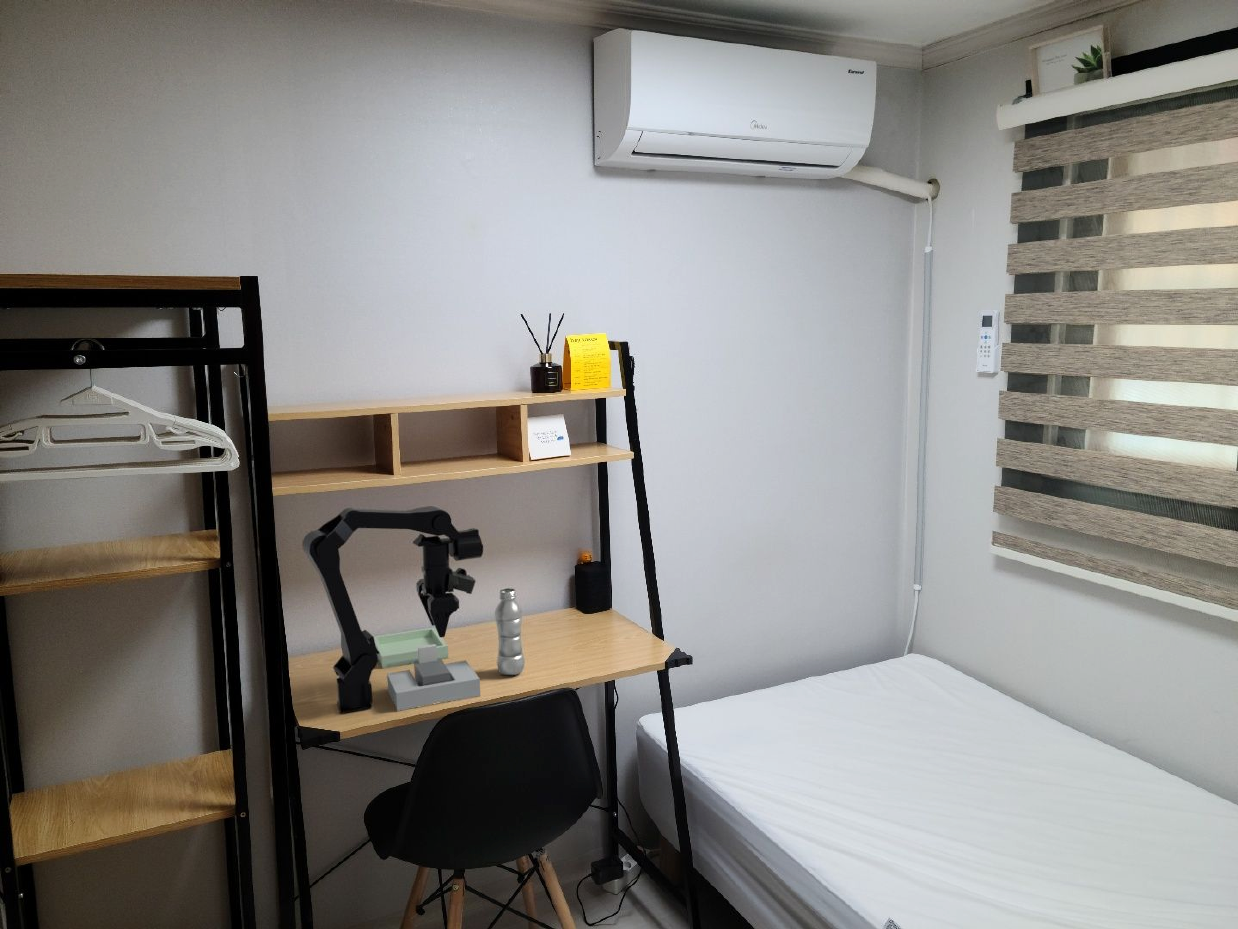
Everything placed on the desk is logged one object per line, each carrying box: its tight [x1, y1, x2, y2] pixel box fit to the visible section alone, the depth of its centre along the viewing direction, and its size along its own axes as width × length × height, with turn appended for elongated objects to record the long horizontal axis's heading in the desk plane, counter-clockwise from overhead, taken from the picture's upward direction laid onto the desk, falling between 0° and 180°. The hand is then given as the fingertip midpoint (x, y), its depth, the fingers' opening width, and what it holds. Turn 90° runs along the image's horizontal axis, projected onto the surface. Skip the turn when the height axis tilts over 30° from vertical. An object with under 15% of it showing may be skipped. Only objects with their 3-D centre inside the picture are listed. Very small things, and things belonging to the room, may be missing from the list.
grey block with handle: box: [413, 644, 451, 687], centre depth 199 cm, size 6×10×10 cm, turn 23°
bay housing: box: [386, 659, 481, 712], centre depth 199 cm, size 18×12×4 cm
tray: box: [373, 627, 450, 669], centre depth 225 cm, size 16×16×3 cm
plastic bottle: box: [494, 587, 526, 676], centre depth 209 cm, size 6×7×20 cm
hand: (438, 631), depth 202 cm, fingers open, 9 cm apart
